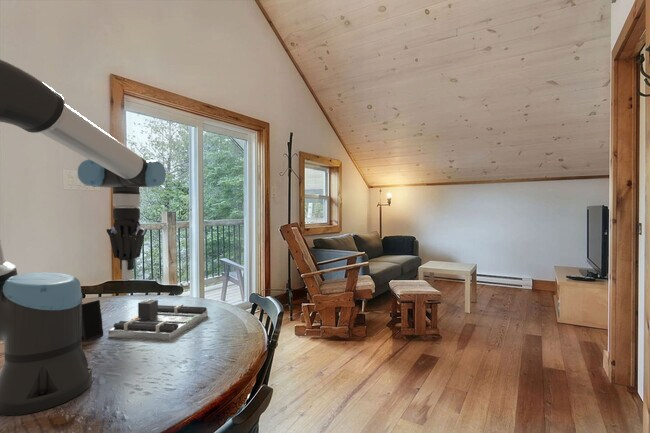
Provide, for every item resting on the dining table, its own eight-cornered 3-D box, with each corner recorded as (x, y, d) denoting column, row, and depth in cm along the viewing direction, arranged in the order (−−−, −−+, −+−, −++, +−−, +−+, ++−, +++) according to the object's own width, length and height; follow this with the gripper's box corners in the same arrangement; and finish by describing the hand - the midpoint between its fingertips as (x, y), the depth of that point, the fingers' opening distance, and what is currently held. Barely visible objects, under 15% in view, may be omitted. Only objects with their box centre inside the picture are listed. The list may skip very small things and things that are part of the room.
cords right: (202, 314, 110) (202, 308, 110) (151, 311, 112) (151, 306, 112) (208, 310, 114) (208, 305, 114) (158, 308, 116) (158, 303, 116)
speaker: (108, 335, 95) (104, 299, 96) (84, 342, 91) (80, 304, 91) (99, 331, 100) (96, 297, 100) (76, 338, 96) (73, 302, 96)
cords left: (172, 332, 93) (172, 326, 93) (112, 329, 95) (112, 322, 95) (180, 327, 97) (180, 321, 97) (122, 324, 99) (122, 318, 99)
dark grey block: (149, 319, 104) (149, 302, 104) (138, 318, 104) (138, 301, 104) (157, 315, 108) (157, 298, 108) (146, 314, 108) (146, 298, 108)
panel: (169, 340, 92) (169, 332, 92) (108, 337, 94) (108, 329, 94) (207, 316, 114) (207, 309, 114) (157, 313, 116) (157, 307, 116)
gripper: (152, 207, 109) (153, 278, 110) (117, 207, 111) (117, 276, 112) (136, 207, 102) (137, 282, 102) (99, 207, 104) (99, 281, 104)
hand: (127, 279), depth 107 cm, fingers closed
